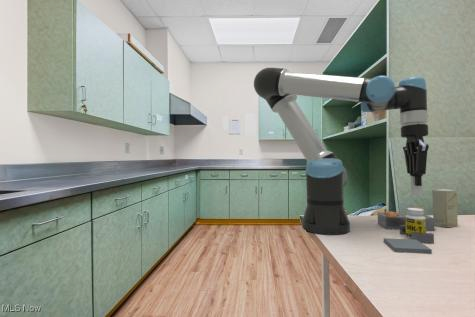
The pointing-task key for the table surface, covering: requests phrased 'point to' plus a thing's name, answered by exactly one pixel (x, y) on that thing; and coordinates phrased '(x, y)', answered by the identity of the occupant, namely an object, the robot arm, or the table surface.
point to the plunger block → (401, 221)
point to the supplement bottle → (415, 221)
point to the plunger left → (391, 213)
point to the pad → (407, 245)
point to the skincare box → (445, 208)
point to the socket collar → (419, 235)
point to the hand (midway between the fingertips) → (416, 195)
